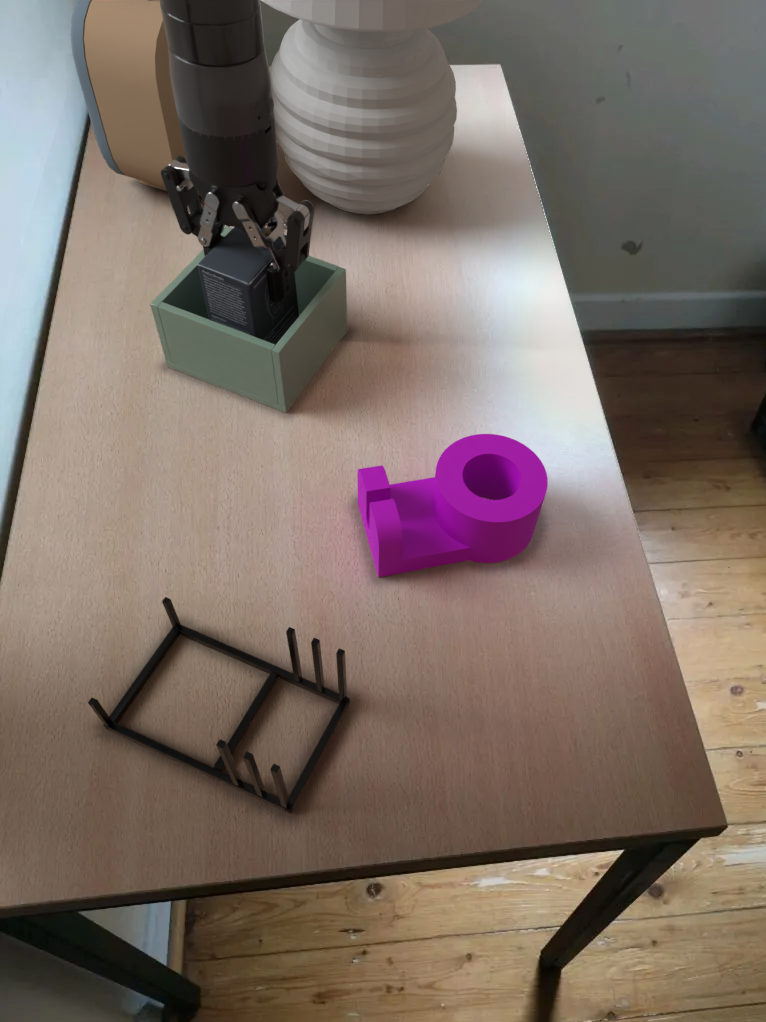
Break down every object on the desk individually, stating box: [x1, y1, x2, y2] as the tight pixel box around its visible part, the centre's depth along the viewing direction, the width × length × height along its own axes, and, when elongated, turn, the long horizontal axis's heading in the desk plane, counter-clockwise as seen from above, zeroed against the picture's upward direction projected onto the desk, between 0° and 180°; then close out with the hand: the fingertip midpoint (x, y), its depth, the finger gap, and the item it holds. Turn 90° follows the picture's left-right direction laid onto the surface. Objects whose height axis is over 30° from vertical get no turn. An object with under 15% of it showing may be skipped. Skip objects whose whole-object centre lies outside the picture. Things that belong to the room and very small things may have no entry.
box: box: [197, 226, 299, 345], centre depth 79 cm, size 8×6×11 cm
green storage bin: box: [149, 225, 348, 414], centre depth 81 cm, size 14×14×8 cm
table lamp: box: [260, 0, 484, 215], centre depth 83 cm, size 25×25×40 cm
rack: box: [87, 596, 351, 814], centre depth 60 cm, size 16×10×9 cm, turn 67°
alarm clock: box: [70, 0, 200, 197], centre depth 90 cm, size 21×10×22 cm, turn 162°
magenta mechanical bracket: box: [357, 433, 549, 578], centre depth 72 cm, size 16×10×6 cm, turn 106°
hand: (250, 286), depth 78 cm, fingers closed on box, 5 cm apart
